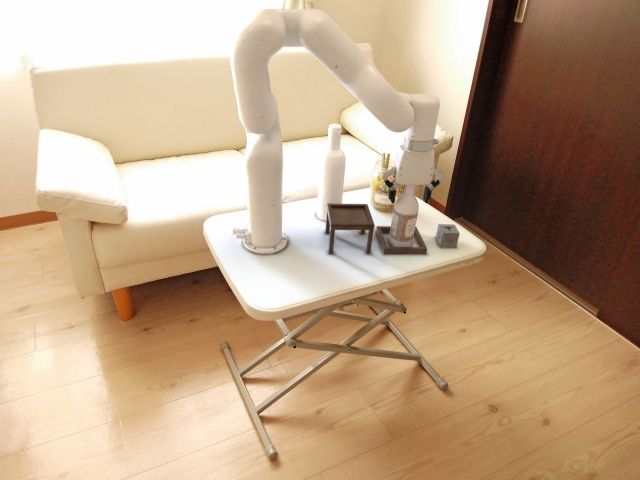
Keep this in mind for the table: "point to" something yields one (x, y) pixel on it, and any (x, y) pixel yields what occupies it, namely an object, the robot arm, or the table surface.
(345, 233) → the table surface
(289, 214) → the table surface
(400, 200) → the bath foam
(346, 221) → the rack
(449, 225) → the dice cube
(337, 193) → the bottle
